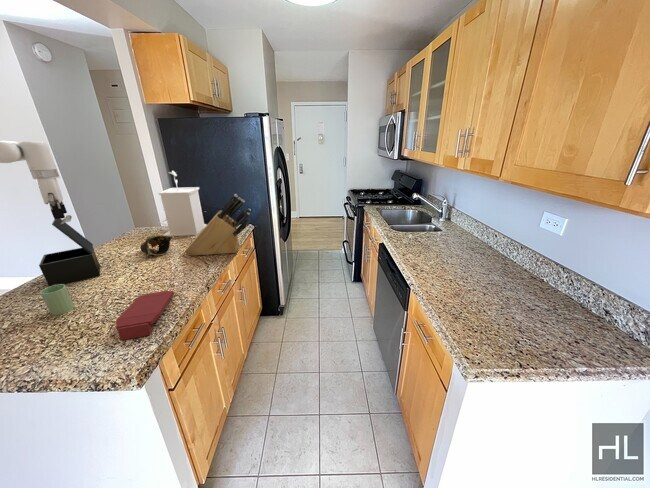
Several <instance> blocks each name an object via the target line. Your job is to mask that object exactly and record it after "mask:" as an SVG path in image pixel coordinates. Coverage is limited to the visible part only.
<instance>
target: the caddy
mask: <svg viewBox="0 0 650 488" xmlns="http://www.w3.org/2000/svg"><path fill="white" fill-rule="evenodd" d="M38 267H39V269H40V271H41V273H42V275H43V277H44V280H45V281H46V283H47V287H50V286H53V285H58V284H64V285H65V286H66V285H70V284H74V283H77V282H81V281H86V280H89V279H90V280H91V279H93V278H98V277H101V265H100V262H99V260H98V257H97V254H96V251H95V248H93V253H92V254H90V253H89V252H87V251H86V250H85V249H83V248H82V247H77V248H72V249H67V250H61V251H57V252H52V253H47V254H46V253H45V254H43V256H42V258H41V260H40V262H39V264H38Z"/></svg>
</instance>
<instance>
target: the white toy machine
mask: <svg viewBox="0 0 650 488" xmlns="http://www.w3.org/2000/svg"><path fill="white" fill-rule="evenodd" d="M167 173H168V174H171V176H172V175H173V180H174V183H175V186H176V187H170V188H167V189H165V190H162V191H159V192H158V196H160V199H161V203H162V206H163V207H162V208H163V211H164V215H165V218H164V219H162V220H160V221H159V222H158V224H160V225H164V226H167V227H168V230H167V231H166V232H165V233H163V234H162V236H171V235H174V236H173V237H183V236H185V237H186V236H198V235H199V234H200V233H201V231H202V230H203V229H204V228H205V227H206V226H207V223H205V219H204V216H203V210H202V206H201V205H202V204H201V200H200V194H199V190H200V186H194V187H193V186H190V187H185V186H184V187H178V179H176V177H178V174H177V172H175V170H171V171H168V172H167ZM164 222H167V223H166V224H165V223H164Z"/></svg>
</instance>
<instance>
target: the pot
mask: <svg viewBox="0 0 650 488" xmlns="http://www.w3.org/2000/svg"><path fill="white" fill-rule="evenodd" d="M174 237H175V236H174V235H171V236H163V235H161V234H154V235H150V236H148V237H147V238H146V240H145V241H144V242H143V243H141V244H140V248H139V249H140V251H141V252H142V253H145V256H151V255H152V256H163V255H165V254H166V253H167V252H169V250H170V248H171V241H172V240H173V238H174ZM149 245H150V246H149ZM157 246H158V250H157V251H152V250H151V248H152V249H154V248H156V247H157ZM150 247H151V248H150Z"/></svg>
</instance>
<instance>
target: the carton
mask: <svg viewBox="0 0 650 488" xmlns="http://www.w3.org/2000/svg"><path fill="white" fill-rule="evenodd" d="M174 295H175V292H174V290H163V291H156V292H150V293H145V294H141V295H138V296H137V297H136V298H135V299H134V301H132V302H131V304H130V305H129V306H128V307H127V308H126V309H125V310H124V311H123V312H122V313H121V314H120V315H119V316H118V317H117V319H116V321H115V328H116V331H117V333H118V336H119V341H125V340H131V339H136V338H141V337H147V336H151V334H153V329H152V325H154V323H155V322H157V320H158V319H159V318H160V317H161V316H162V314H163V312H164V310H166V307H167V306H168V305H169V303H170V301H171V300H172V299H173V297H174Z"/></svg>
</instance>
